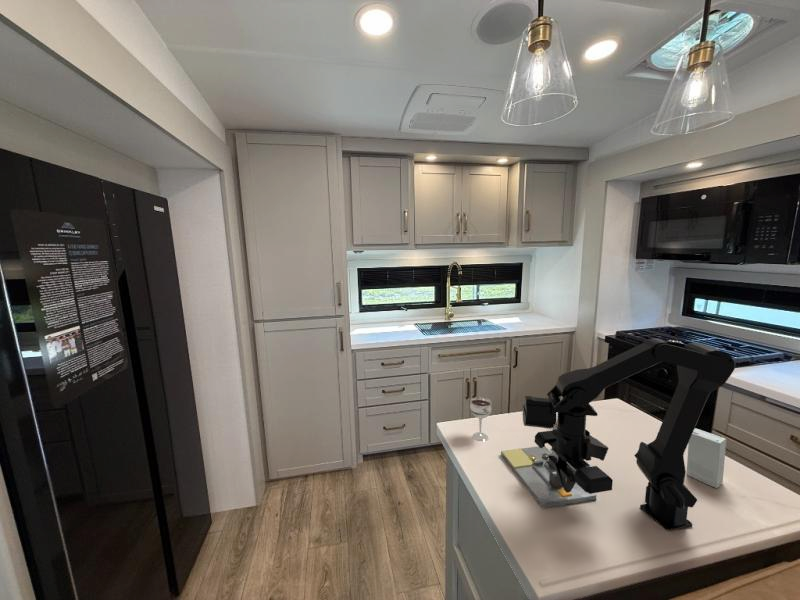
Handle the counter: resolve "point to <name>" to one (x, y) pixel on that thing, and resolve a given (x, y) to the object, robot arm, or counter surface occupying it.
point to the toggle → (554, 479)
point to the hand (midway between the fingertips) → (567, 491)
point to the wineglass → (480, 414)
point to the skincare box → (706, 457)
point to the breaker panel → (546, 481)
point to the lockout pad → (517, 458)
